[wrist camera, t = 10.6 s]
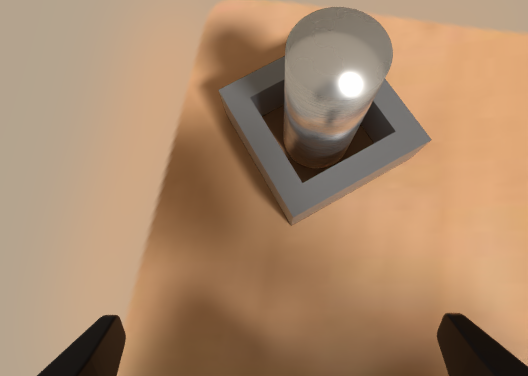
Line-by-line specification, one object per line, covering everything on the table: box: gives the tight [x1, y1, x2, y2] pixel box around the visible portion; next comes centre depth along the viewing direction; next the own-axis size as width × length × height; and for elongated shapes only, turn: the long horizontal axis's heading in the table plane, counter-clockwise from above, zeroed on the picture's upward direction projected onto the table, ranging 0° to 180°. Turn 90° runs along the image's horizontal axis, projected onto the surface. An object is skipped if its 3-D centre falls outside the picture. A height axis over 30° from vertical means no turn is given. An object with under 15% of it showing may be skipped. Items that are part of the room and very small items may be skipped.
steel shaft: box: [283, 7, 393, 168], centre depth 20 cm, size 5×5×10 cm
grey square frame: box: [219, 56, 431, 226], centre depth 23 cm, size 10×10×4 cm
